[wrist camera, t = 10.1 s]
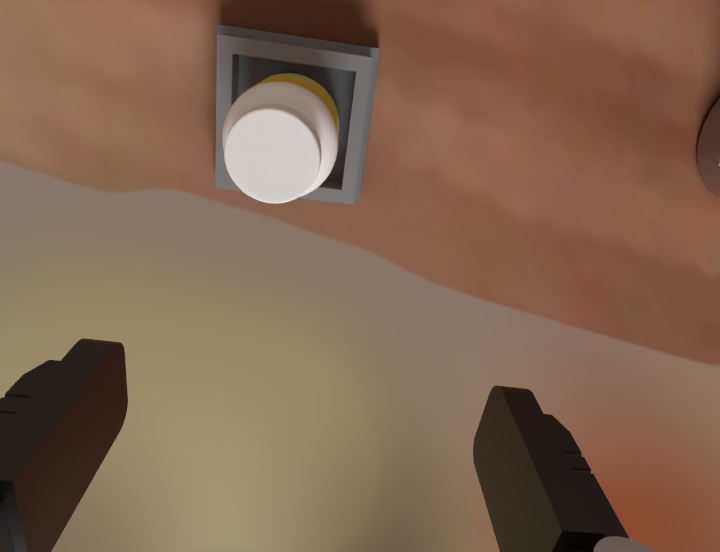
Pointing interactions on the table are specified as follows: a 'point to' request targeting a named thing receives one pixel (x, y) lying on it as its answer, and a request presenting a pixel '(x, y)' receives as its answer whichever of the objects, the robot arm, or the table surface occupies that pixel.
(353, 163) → the square open box
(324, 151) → the supplement bottle
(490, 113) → the table surface
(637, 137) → the table surface
